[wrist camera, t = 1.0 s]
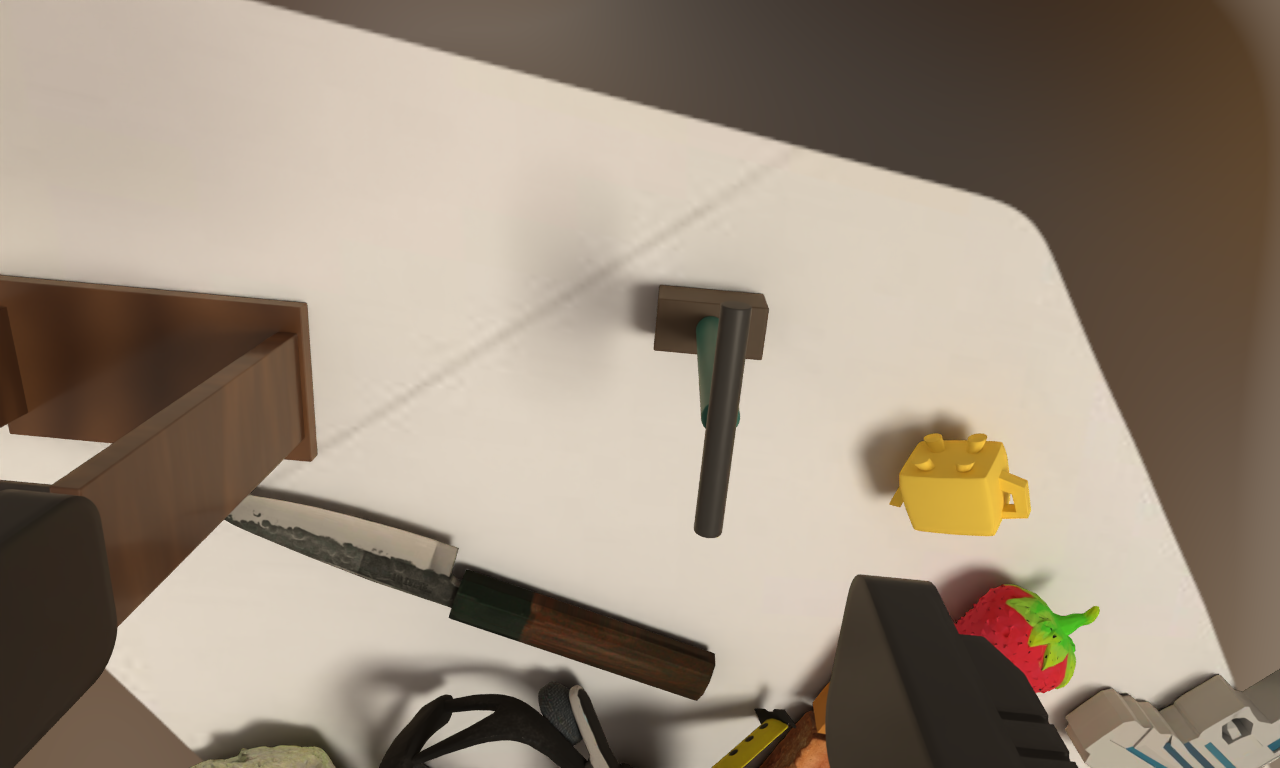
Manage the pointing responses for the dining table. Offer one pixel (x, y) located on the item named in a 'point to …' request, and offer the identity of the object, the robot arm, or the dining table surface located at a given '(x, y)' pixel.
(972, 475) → the yellow studded block
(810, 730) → the wooden plank
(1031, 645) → the strawberry
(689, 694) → the kitchen knife
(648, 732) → the dining table surface
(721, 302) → the green t-shaped stand
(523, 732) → the virtual reality headset
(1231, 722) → the toy gun
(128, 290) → the wooden rack
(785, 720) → the tape measure
